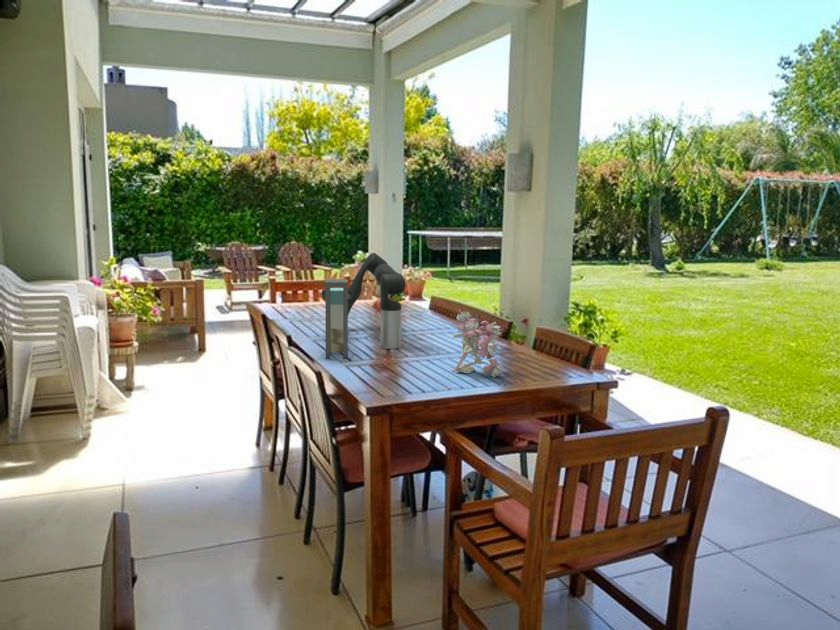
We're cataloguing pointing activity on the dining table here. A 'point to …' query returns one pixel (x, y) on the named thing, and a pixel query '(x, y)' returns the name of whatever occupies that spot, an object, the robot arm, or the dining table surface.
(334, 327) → the tower top block
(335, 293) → the handle block
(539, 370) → the dining table surface
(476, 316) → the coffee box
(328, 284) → the stand
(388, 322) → the robot arm
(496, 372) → the flower
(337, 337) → the tower base block
